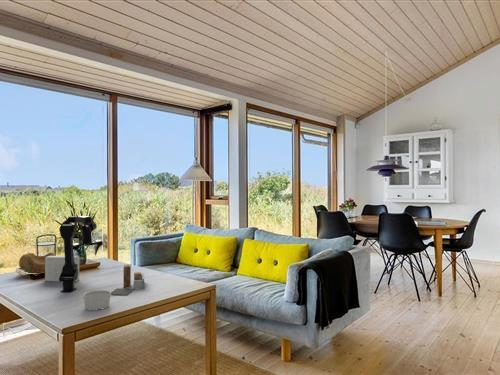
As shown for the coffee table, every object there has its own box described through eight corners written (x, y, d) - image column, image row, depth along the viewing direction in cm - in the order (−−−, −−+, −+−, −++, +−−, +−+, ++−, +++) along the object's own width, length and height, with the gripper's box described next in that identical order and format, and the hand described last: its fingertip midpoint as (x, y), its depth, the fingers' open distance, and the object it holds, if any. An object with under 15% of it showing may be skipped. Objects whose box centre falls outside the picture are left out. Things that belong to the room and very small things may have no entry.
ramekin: (114, 302, 195) (114, 290, 195) (105, 311, 182) (105, 298, 182) (89, 303, 194) (89, 290, 194) (79, 311, 181) (79, 298, 181)
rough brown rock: (21, 280, 239) (22, 258, 238) (17, 273, 251) (18, 252, 250) (60, 276, 254) (61, 255, 253) (54, 269, 267) (55, 250, 266)
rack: (133, 289, 219) (133, 279, 219) (134, 282, 233) (134, 273, 233) (144, 288, 221) (144, 278, 221) (144, 282, 235) (144, 272, 235)
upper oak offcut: (134, 280, 224) (134, 274, 224) (134, 278, 228) (134, 272, 228) (141, 279, 226) (141, 273, 226) (140, 278, 229) (140, 271, 229)
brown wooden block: (123, 287, 222) (123, 266, 222) (124, 285, 227) (124, 264, 227) (130, 287, 223) (130, 266, 223) (130, 284, 228) (130, 264, 228)
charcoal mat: (127, 295, 207) (127, 294, 207) (108, 295, 208) (108, 294, 208) (134, 289, 218) (134, 288, 218) (117, 289, 219) (117, 288, 219)
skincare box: (80, 279, 240) (79, 256, 239) (75, 282, 234) (75, 257, 234) (49, 278, 241) (49, 255, 241) (44, 281, 236) (44, 257, 235)
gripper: (99, 229, 253) (100, 250, 255) (69, 233, 242) (71, 255, 245) (102, 233, 243) (103, 255, 246) (72, 237, 233) (73, 260, 236)
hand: (88, 256), depth 243 cm, fingers open, 9 cm apart
